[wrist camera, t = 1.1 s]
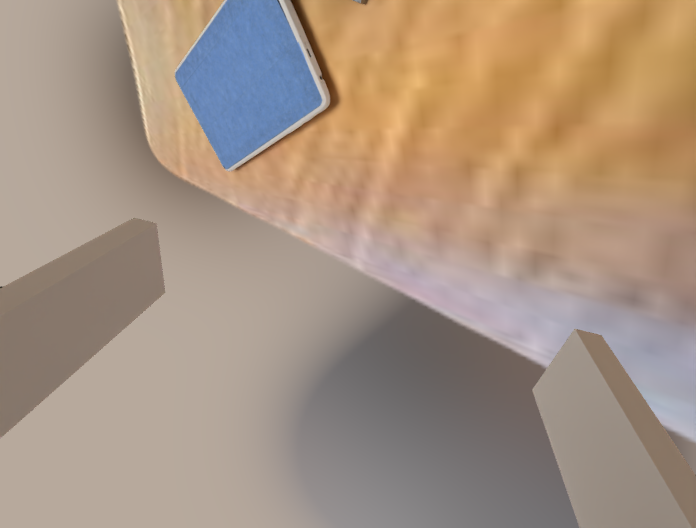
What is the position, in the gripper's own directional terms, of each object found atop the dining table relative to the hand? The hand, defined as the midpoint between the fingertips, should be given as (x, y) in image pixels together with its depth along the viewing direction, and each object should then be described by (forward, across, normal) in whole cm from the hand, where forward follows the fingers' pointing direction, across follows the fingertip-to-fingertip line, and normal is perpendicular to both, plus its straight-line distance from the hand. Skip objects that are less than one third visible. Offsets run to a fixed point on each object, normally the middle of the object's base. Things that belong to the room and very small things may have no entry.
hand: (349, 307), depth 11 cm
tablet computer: (+29, -16, +2) cm, 34 cm away
